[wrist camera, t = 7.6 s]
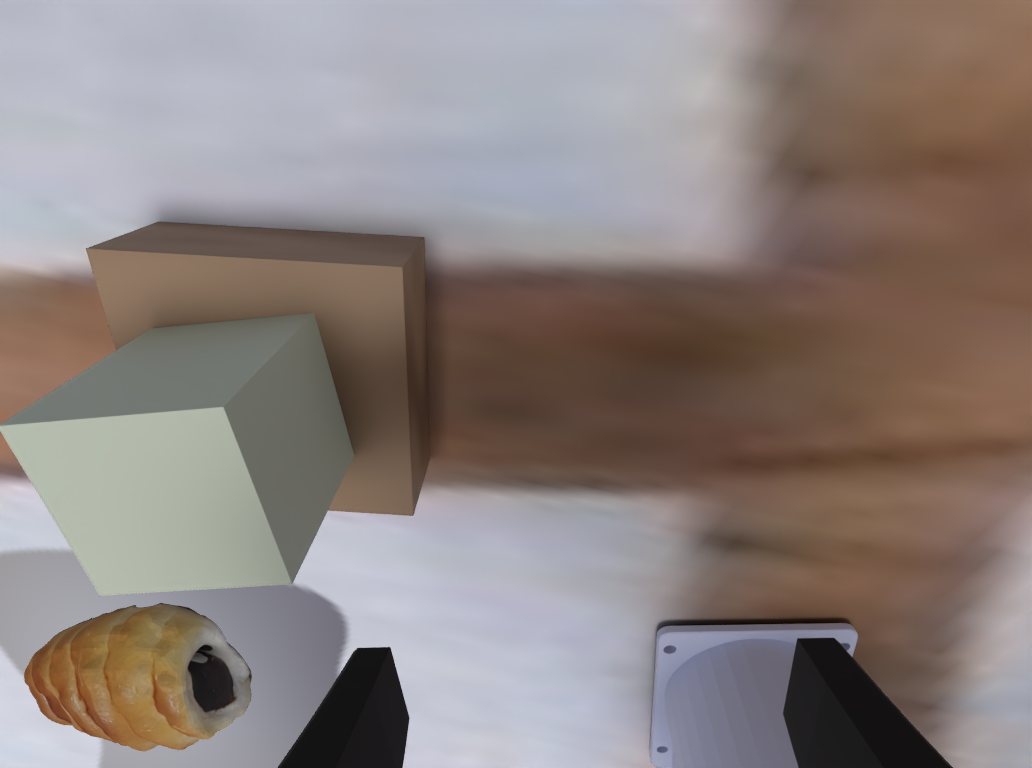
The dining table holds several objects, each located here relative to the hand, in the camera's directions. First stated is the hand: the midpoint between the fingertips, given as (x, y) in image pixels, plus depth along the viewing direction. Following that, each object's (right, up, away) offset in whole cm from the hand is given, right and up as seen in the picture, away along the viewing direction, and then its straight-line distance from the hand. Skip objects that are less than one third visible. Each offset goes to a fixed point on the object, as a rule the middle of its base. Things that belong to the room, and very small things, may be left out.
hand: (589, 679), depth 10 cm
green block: (-9, +5, +6) cm, 12 cm away
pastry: (-18, -7, +17) cm, 25 cm away
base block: (-8, +7, +9) cm, 14 cm away
